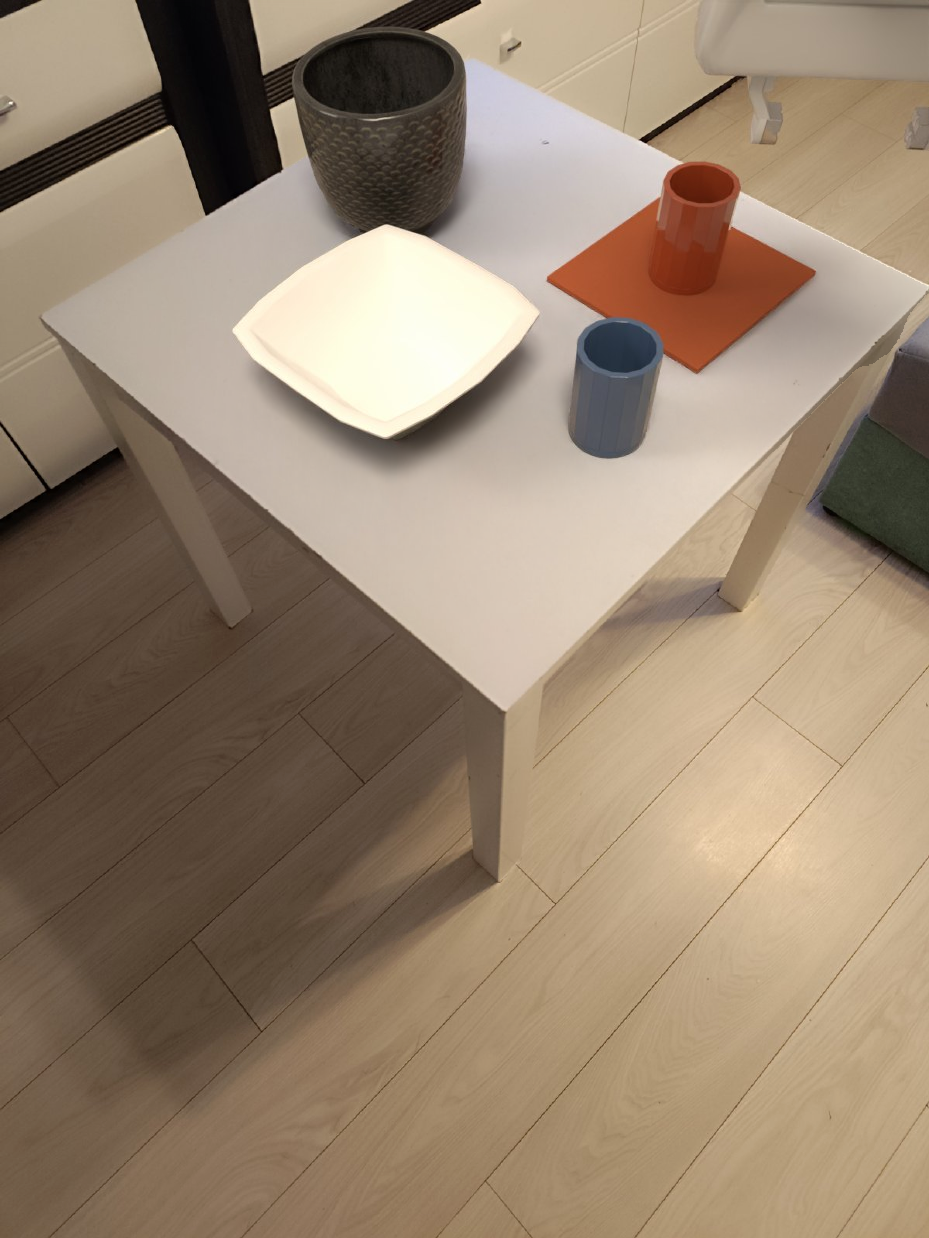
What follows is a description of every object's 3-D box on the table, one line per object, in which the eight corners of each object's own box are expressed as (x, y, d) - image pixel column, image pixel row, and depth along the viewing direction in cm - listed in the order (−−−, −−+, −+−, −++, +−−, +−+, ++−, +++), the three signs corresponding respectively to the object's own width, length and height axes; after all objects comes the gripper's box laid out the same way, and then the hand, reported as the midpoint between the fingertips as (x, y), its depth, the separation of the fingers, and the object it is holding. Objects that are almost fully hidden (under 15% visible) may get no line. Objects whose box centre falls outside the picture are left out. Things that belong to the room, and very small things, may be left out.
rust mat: (814, 275, 91) (816, 270, 90) (696, 374, 84) (698, 369, 83) (665, 196, 98) (666, 191, 98) (546, 281, 92) (546, 276, 91)
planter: (397, 155, 104) (382, 8, 90) (501, 214, 98) (502, 65, 84) (288, 222, 98) (254, 75, 84) (391, 289, 92) (373, 142, 78)
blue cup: (646, 403, 82) (663, 319, 74) (645, 461, 79) (663, 379, 70) (570, 399, 83) (579, 315, 74) (566, 456, 79) (575, 374, 71)
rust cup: (731, 272, 90) (755, 182, 82) (687, 305, 88) (708, 217, 79) (677, 242, 93) (696, 152, 85) (633, 273, 91) (648, 184, 82)
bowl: (399, 518, 76) (388, 455, 69) (234, 396, 84) (209, 327, 77) (557, 382, 84) (562, 311, 77) (392, 282, 92) (383, 210, 85)
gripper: (1153, -160, 42) (1003, 116, 54) (727, -166, 43) (675, 104, 56) (1189, -93, 39) (1021, 182, 51) (732, -102, 40) (676, 168, 53)
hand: (838, 141), depth 54 cm, fingers open, 8 cm apart
